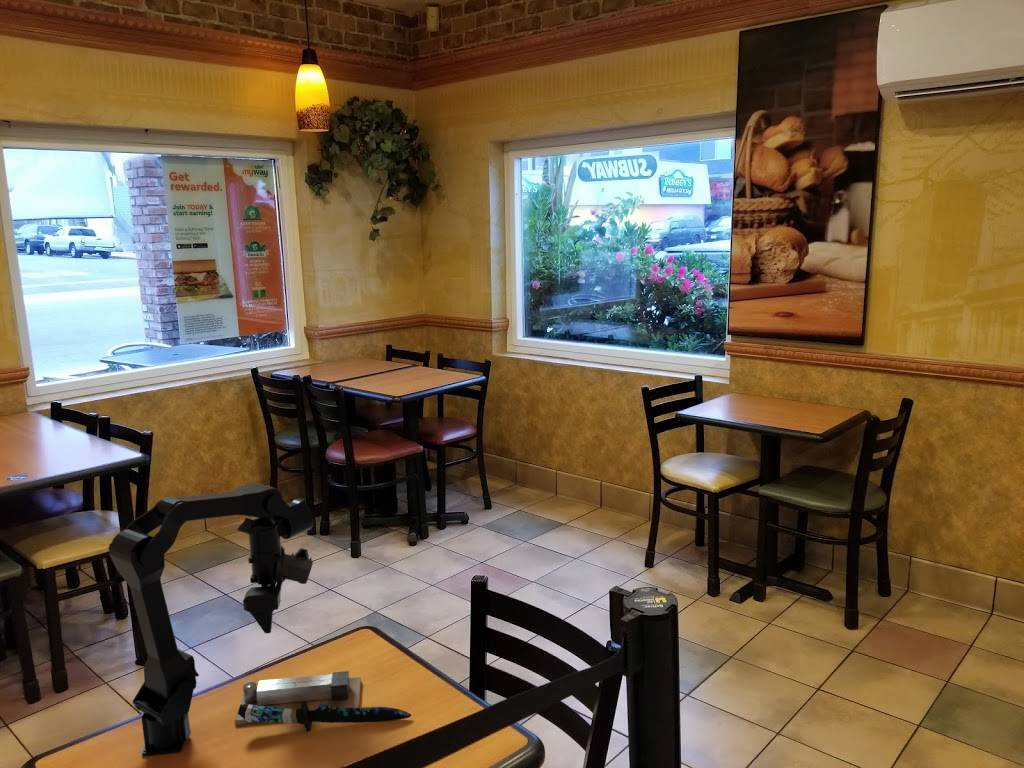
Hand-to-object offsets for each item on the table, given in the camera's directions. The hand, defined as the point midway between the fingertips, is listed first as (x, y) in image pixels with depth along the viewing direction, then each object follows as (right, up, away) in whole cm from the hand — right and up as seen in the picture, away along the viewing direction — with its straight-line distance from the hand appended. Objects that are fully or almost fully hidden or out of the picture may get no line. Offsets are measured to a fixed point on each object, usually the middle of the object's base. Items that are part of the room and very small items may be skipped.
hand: (271, 620), depth 152 cm
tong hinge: (-1, -13, -8) cm, 15 cm away
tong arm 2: (+8, -12, -5) cm, 15 cm away
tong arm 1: (+8, -13, -8) cm, 17 cm away
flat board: (+7, -14, -6) cm, 17 cm away
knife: (+14, -15, -13) cm, 25 cm away
